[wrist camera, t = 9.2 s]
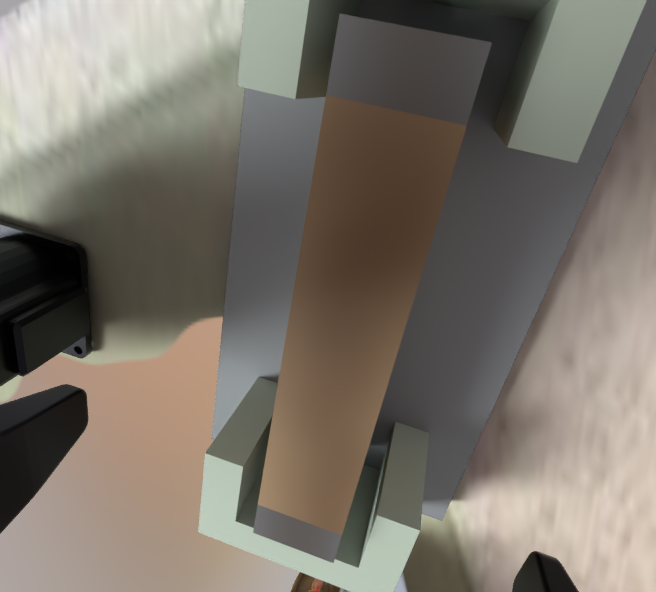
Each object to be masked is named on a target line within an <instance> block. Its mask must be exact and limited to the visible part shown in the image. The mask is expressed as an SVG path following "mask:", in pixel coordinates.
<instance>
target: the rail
mask: <svg viewBox="0 0 656 592" xmlns="http://www.w3.org/2000/svg"><path fill="white" fill-rule="evenodd" d="M491 44H492V42H487V41H482V40H476V39H471V38H466V37H461V36H455V35H450V34H445V33H440V32H434V31H429V30H424V29H419V28H413V27H408V26H403V25H398V24H392V23H387V22H382V21H377V20H371V19H366V18H361V17H356V16H350V15H345V14H339V20H338V26H337V32H336V38H335V44H334V50H333V56H332V62H331V68H330V74H329V80H328V86H327V92H326V98H325V104H324V110H323V116H322V122H321V128H320V134H319V140H318V146H317V152H316V158H315V164H314V170H313V176H312V182H311V188H310V194H309V200H308V206H307V212H306V218H305V224H304V230H303V236H302V242H301V248H300V254H299V260H298V266H297V272H296V278H295V284H294V290H293V296H292V302H291V308H290V314H289V320H288V326H287V332H286V338H285V344H284V350H283V356H282V362H281V368H280V374H279V380H278V386H277V392H276V398H275V404H274V410H273V416H272V422H271V428H270V434H269V440H268V446H267V452H266V458H265V464H264V470H263V476H262V482H261V488H260V494H259V500H258V506H257V512H256V518H255V524H254V530H253V533H255V534H258V535H260V536H263V537H265V538H268V539H271V540H273V541H276V542H279V543H281V544H284V545H287V546H289V547H292V548H294V549H297V550H300V551H302V552H305V553H308V554H310V555H313V556H315V557H318V558H321V559H323V560H326V561H329V562H331V563H334V560H335V556H336V553H337V550H338V547H339V543H340V540H341V537H342V534H343V530H344V527H345V524H346V520H347V517H348V514H349V511H350V507H351V504H352V501H353V497H354V494H355V491H356V488H357V484H358V481H359V478H360V474H361V471H362V468H363V465H364V461H365V458H366V455H367V451H368V448H369V445H370V442H371V438H372V435H373V432H374V428H375V425H376V422H377V419H378V415H379V412H380V409H381V406H382V402H383V399H384V396H385V392H386V389H387V386H388V383H389V379H390V376H391V373H392V369H393V366H394V363H395V360H396V356H397V353H398V350H399V346H400V343H401V340H402V337H403V333H404V330H405V327H406V323H407V320H408V317H409V314H410V310H411V307H412V304H413V300H414V297H415V294H416V291H417V287H418V284H419V281H420V278H421V274H422V271H423V268H424V264H425V261H426V258H427V255H428V251H429V248H430V245H431V241H432V238H433V235H434V232H435V228H436V225H437V222H438V218H439V215H440V212H441V209H442V205H443V202H444V199H445V195H446V192H447V189H448V186H449V182H450V179H451V176H452V172H453V169H454V166H455V163H456V159H457V156H458V153H459V149H460V146H461V143H462V140H463V136H464V133H465V130H466V127H467V123H468V120H469V117H470V113H471V110H472V107H473V104H474V100H475V97H476V94H477V90H478V87H479V84H480V81H481V77H482V74H483V71H484V67H485V64H486V61H487V58H488V54H489V51H490V48H491Z"/></svg>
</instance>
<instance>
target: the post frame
mask: <svg viewBox="0 0 656 592" xmlns="http://www.w3.org/2000/svg"><path fill="white" fill-rule="evenodd" d="M339 14H345V15H350V16H356V17H361V18H366V19H371V20H377V21H382V22H387V23H392V24H398V25H403V26H408V27H413V28H419V29H424V30H429V31H434V32H440V33H445V34H450V35H455V36H461V37H466V38H471V39H476V40H482V41H487V42H492V44H491V48H490V51H489V54H488V58H487V61H486V64H485V67H484V71H483V74H482V77H481V81H480V84H479V87H478V90H477V94H476V97H475V100H474V104H473V107H472V110H471V113H470V117H469V120H468V123H467V127H466V130H465V133H464V136H463V140H462V143H461V146H460V149H459V153H458V156H457V159H456V163H455V166H454V169H453V172H452V176H451V179H450V182H449V186H448V189H447V192H446V195H445V199H444V202H443V205H442V209H441V212H440V215H439V218H438V222H437V225H436V228H435V232H434V235H433V238H432V241H431V245H430V248H429V251H428V255H427V258H426V261H425V264H424V268H423V271H422V274H421V278H420V281H419V284H418V287H417V291H416V294H415V297H414V300H413V304H412V307H411V310H410V314H409V317H408V320H407V323H406V327H405V330H404V333H403V337H402V340H401V343H400V346H399V350H398V353H397V356H396V360H395V363H394V366H393V369H392V373H391V376H390V379H389V383H388V386H387V389H386V392H385V396H384V399H383V402H382V406H381V409H380V412H379V415H378V419H377V422H376V425H375V428H374V432H373V435H372V438H371V442H370V445H369V448H368V451H367V455H366V458H365V461H364V465H363V468H362V471H361V474H360V478H359V481H358V484H357V488H356V491H355V494H354V497H353V501H352V504H351V507H350V511H349V514H348V517H347V520H346V524H345V527H344V530H343V534H342V537H341V540H340V543H339V547H338V550H337V553H336V556H335V560H334V563H331V562H329V561H326V560H323V559H321V558H318V557H315V556H313V555H310V554H308V553H305V552H302V551H300V550H297V549H294V548H292V547H289V546H287V545H284V544H281V543H279V542H276V541H273V540H271V539H268V538H265V537H263V536H260V535H258V534H255V533H253V530H254V524H255V518H256V512H257V506H258V500H259V494H260V488H261V482H262V476H263V470H264V464H265V458H266V452H267V446H268V440H269V434H270V428H271V422H272V416H273V410H274V404H275V398H276V392H277V386H278V380H279V374H280V368H281V362H282V356H283V350H284V344H285V338H286V332H287V326H288V320H289V314H290V308H291V302H292V296H293V290H294V284H295V278H296V272H297V266H298V260H299V254H300V248H301V242H302V236H303V230H304V224H305V218H306V212H307V206H308V200H309V194H310V188H311V182H312V176H313V170H314V164H315V158H316V152H317V146H318V140H319V134H320V128H321V122H322V116H323V110H324V104H325V98H326V92H327V86H328V80H329V74H330V68H331V62H332V56H333V50H334V44H335V38H336V32H337V26H338V20H339ZM655 50H656V0H245V3H244V14H243V26H242V37H241V49H240V60H239V72H238V83H237V86H240V87H244V88H245V91H244V102H243V112H242V123H241V134H240V144H239V155H238V165H237V176H236V187H235V197H234V208H233V218H232V229H231V239H230V250H229V261H228V271H227V282H226V292H225V303H224V314H223V324H222V335H221V346H220V356H219V367H218V377H217V388H216V398H215V409H214V421H213V431H212V439H213V440H214V441H213V443H212V444H211V446H210V447H209V449H208V450H207V451H206V453H205V462H204V472H203V484H202V495H201V507H200V518H199V531H198V532H199V533H201V534H204V535H207V536H209V537H212V538H214V539H217V540H219V541H222V542H224V543H227V544H230V545H232V546H235V547H238V548H240V549H242V550H245V551H248V552H250V553H253V554H255V555H258V556H260V557H263V558H266V559H268V560H271V561H273V562H276V563H278V564H281V565H284V566H286V567H289V568H291V569H294V570H296V571H299V572H301V573H304V574H307V575H309V576H312V577H314V578H317V579H319V580H322V581H325V582H327V583H330V584H332V585H335V586H337V587H340V588H343V589H345V590H348V591H350V592H394V590H395V588H396V586H397V583H398V581H399V579H400V576H401V574H402V572H403V569H404V567H405V565H406V562H407V560H408V558H409V555H410V553H411V551H412V548H413V546H414V544H415V541H416V539H417V537H418V534H419V532H420V526H421V515H422V514H424V515H427V516H430V517H432V518H435V519H438V520H441V521H442V519H443V517H444V515H445V513H446V510H447V508H448V506H449V504H450V502H451V499H452V497H453V495H454V493H455V491H456V488H457V486H458V484H459V482H460V480H461V477H462V475H463V473H464V471H465V469H466V466H467V464H468V462H469V460H470V458H471V455H472V453H473V451H474V449H475V447H476V444H477V442H478V440H479V438H480V436H481V433H482V431H483V429H484V427H485V425H486V422H487V420H488V418H489V416H490V414H491V411H492V409H493V407H494V405H495V403H496V400H497V398H498V396H499V394H500V391H501V389H502V387H503V385H504V383H505V380H506V378H507V376H508V374H509V372H510V369H511V367H512V365H513V363H514V361H515V358H516V356H517V354H518V352H519V350H520V347H521V345H522V343H523V341H524V339H525V336H526V334H527V332H528V330H529V328H530V325H531V323H532V321H533V319H534V317H535V314H536V312H537V310H538V308H539V306H540V303H541V301H542V299H543V297H544V295H545V292H546V290H547V288H548V286H549V284H550V281H551V279H552V277H553V275H554V272H555V270H556V268H557V266H558V264H559V261H560V259H561V257H562V255H563V253H564V250H565V248H566V246H567V244H568V242H569V239H570V237H571V235H572V233H573V231H574V228H575V226H576V224H577V222H578V220H579V217H580V215H581V213H582V211H583V209H584V206H585V204H586V202H587V200H588V198H589V195H590V193H591V191H592V189H593V187H594V184H595V182H596V180H597V178H598V176H599V173H600V171H601V169H602V167H603V165H604V162H605V160H606V158H607V156H608V153H609V151H610V149H611V147H612V145H613V142H614V140H615V138H616V136H617V134H618V131H619V129H620V127H621V125H622V123H623V120H624V118H625V116H626V114H627V112H628V109H629V107H630V105H631V103H632V101H633V98H634V96H635V94H636V92H637V90H638V87H639V85H640V83H641V81H642V79H643V76H644V74H645V72H646V70H647V68H648V65H649V63H650V61H651V59H652V57H653V54H654V52H655Z"/></svg>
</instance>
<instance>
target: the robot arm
mask: <svg viewBox="0 0 656 592" xmlns="http://www.w3.org/2000/svg"><path fill="white" fill-rule="evenodd" d="M73 252H74V254H75V256H76V257H75V256H74V254H73ZM91 351H92V345H91V328H90V311H89V294H88V278H87V261H86V253H85V250H84V249H83V247H82V246H81V245H79V244H77V243H74V242H71V241H67V240H64V239H61V238H57V237H54V236H51V235H47V234H44V233H41V232H37V231H34V230H31V229H27V228H24V227H21V226H17V225H14V224H10V223H7V222H4V221H0V386H2V385H3V384H5V383H6V382H8V381H9V380H11V379H13V378H14V377H16V376H17V375H20V376H25V375H27V374H29V373H30V372H31V371H33V370H35V369H36V368H38V367H39V366H41V365H42V364H43V363H45V362H46V361H48V360H49V359H51V358H53V357H54V356H56V355H57V354H59V353H60V352H63V353H66V354H69V355H72V356H75V357H78V358H84V357H86V356H87V355H89V354H90V353H91ZM87 424H88V407H87V395H86V392H85V391H84V390H83V389H80V388H77V387H75V386H72V385H67V384H65V385H60V386H57V387H54V388H51V389H48V390H45V391H42V392H39V393H35V394H32V395H29V396H26V397H23V398H20V399H17V400H14V401H11V402H8V403H4V404H1V405H0V533H1V532H2V531H3V530H4V529H5V528H6V527H7V526H8V525H9V523H10V522H11V521H12V520H13V519H14V518H15V517H16V516H17V515H18V514H19V513H20V511H21V510H22V509H23V508H24V507H25V506H26V505H27V504H28V503H29V502H30V500H31V499H32V498H33V497H34V496H35V494H36V493H37V492H38V491H39V489H40V488H41V487H42V486H43V485H44V483H45V482H46V481H47V479H48V478H49V477H50V475H51V474H52V472H53V471H54V470H55V469H56V468H57V466H58V465H59V463H60V462H61V461H62V460H63V458H64V457H65V456H66V454H67V453H68V452H69V450H70V449H71V448H72V446H73V445H74V444H75V443H76V441H77V440H78V439H79V437H80V436H81V435H82V433H83V432H84V430H85V428H86V426H87ZM512 592H579V591H578V590H577V588H576V586H575V585H574V583H573V582H572V580H571V578H570V577H569V575H568V574H567V572H566V570H565V569H564V567H563V566H562V564H561V563H560V562H559V561H558V560H557V559H556V558H554V557H551V556H549V555H546V554H543V553H540V552H537V551H534V552H532V553H531V554H530V555H529V556H528V558H527V559H526V561H525V563H524V564H523V566H522V567H521V569H520V571H519V572H518V574H517V576H516V578H515V580H514V583H513V589H512Z"/></svg>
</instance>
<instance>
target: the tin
mask: <svg viewBox="0 0 656 592" xmlns="http://www.w3.org/2000/svg"><path fill="white" fill-rule="evenodd" d="M291 592H350V591H348V590H345V589H343V588H340V587H337V586H335V585H332V584H330V583H327V582H325V581H322V580H319V579H317V578H314V577H312V576H309V575H307V574H304V573H301V572H300V573H299V575H298V576H297V578H296V580H295V583H294V585H293V587H292V590H291Z"/></svg>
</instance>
